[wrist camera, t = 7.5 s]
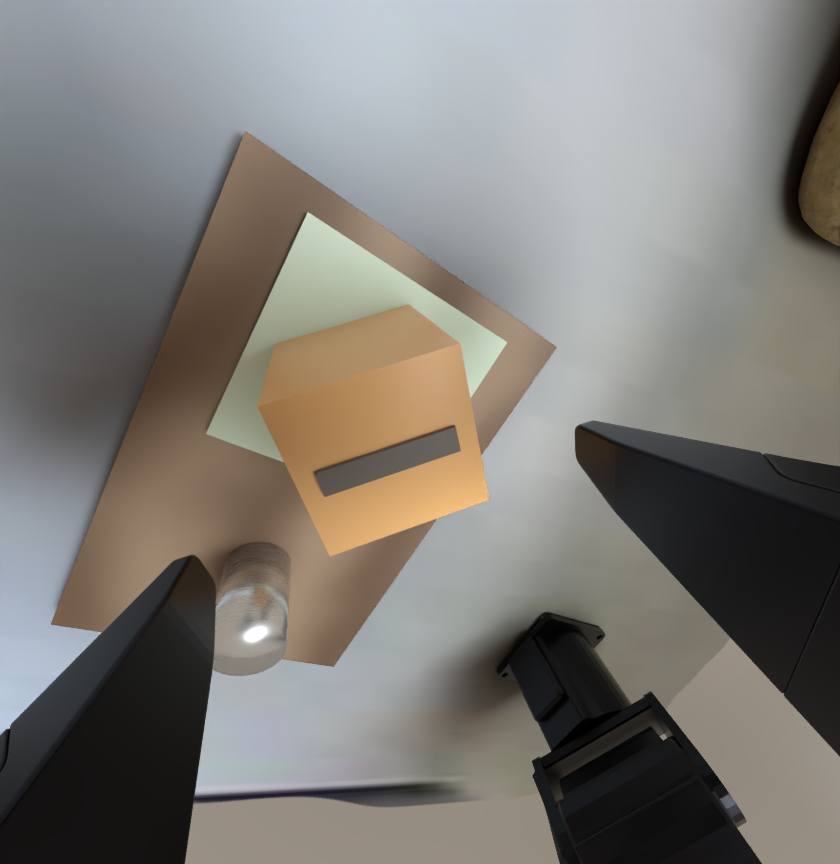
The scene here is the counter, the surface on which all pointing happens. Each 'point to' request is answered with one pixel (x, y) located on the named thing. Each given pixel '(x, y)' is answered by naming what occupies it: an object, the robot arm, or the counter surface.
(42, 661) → the counter surface
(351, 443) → the box
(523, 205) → the counter surface
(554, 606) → the counter surface
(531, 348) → the board
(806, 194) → the ceramic vessel
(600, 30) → the counter surface
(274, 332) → the pad
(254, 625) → the clear cylinder
